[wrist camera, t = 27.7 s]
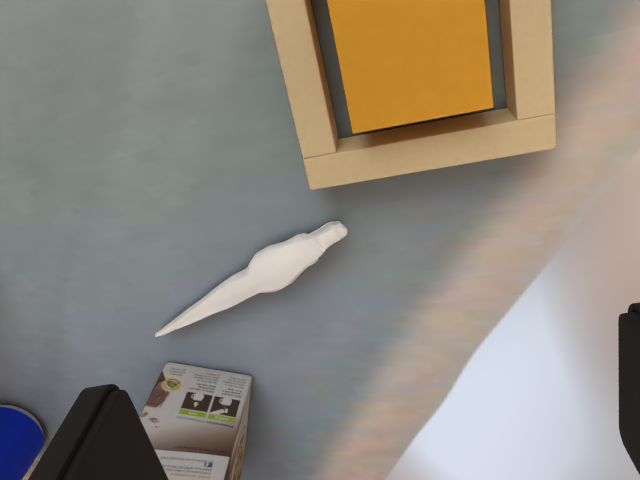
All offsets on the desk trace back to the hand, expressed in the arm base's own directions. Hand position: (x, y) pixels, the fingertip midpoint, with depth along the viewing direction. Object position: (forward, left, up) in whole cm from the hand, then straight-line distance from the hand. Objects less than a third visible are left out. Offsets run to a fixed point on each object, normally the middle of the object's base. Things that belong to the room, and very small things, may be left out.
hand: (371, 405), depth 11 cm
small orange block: (+2, +3, -23) cm, 23 cm away
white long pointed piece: (-9, -9, -23) cm, 27 cm away
